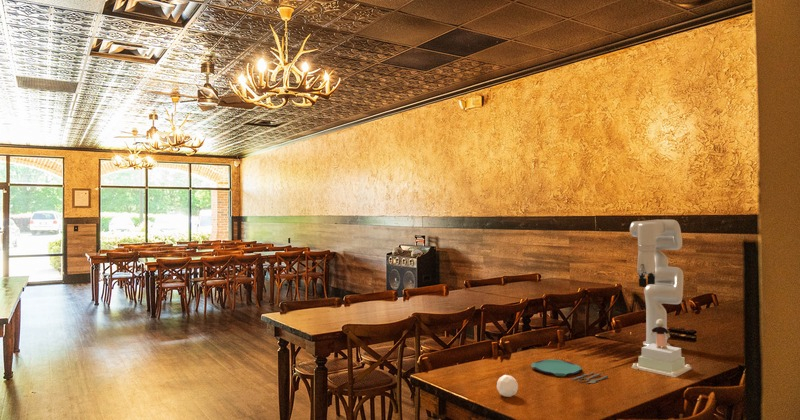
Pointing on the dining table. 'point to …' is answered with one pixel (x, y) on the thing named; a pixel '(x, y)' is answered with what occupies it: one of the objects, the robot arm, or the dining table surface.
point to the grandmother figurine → (660, 334)
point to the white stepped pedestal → (662, 361)
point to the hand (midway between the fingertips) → (647, 285)
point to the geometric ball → (507, 386)
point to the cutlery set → (562, 369)
